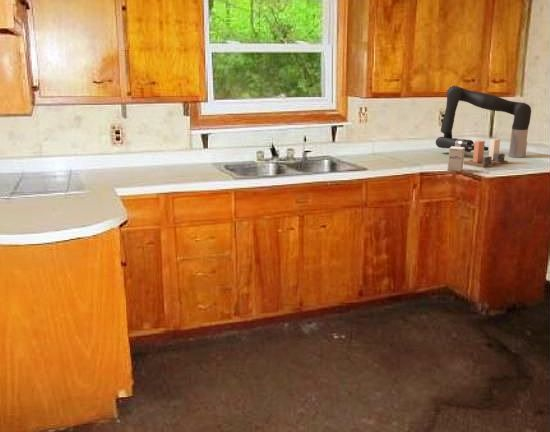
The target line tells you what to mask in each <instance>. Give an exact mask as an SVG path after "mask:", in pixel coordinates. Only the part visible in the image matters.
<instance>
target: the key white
mask: <svg viewBox="0 0 550 432" xmlns="http://www.w3.org/2000/svg"><path fill="white" fill-rule="evenodd" d="M500 145H501V138H490V140H489V149H488V151H489V152H488V157H492V160H495V154H500Z"/></svg>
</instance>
